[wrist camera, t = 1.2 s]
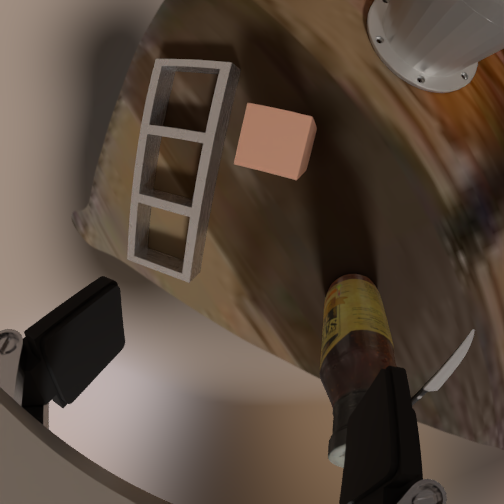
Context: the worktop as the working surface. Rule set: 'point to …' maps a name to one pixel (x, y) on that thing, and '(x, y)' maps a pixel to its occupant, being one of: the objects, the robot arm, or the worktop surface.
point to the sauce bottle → (352, 350)
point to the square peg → (275, 141)
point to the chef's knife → (445, 369)
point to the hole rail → (207, 169)
